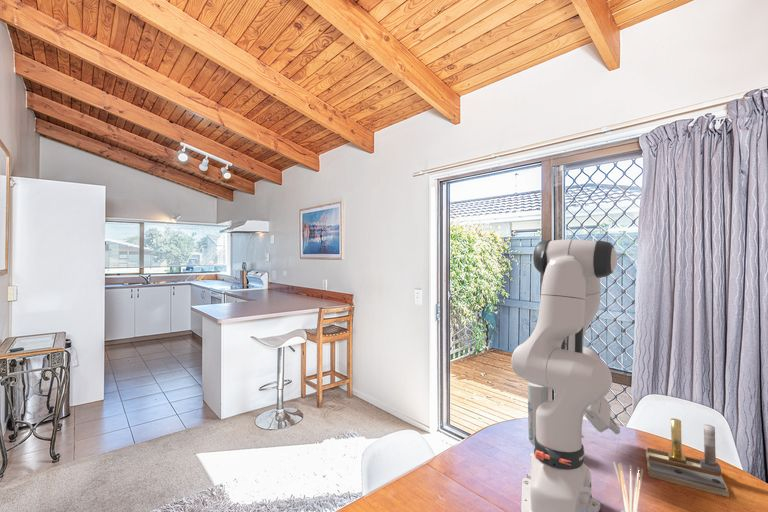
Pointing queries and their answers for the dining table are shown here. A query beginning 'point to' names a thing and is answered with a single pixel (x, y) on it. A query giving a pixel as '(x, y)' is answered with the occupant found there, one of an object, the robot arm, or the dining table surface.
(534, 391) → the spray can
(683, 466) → the base
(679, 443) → the leg
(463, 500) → the dining table surface
